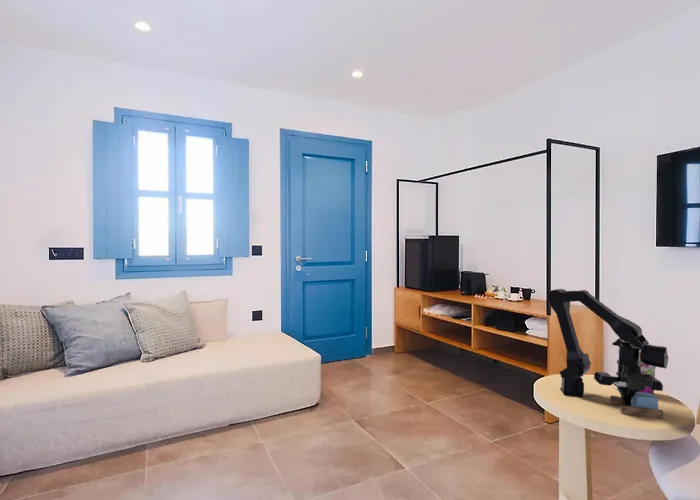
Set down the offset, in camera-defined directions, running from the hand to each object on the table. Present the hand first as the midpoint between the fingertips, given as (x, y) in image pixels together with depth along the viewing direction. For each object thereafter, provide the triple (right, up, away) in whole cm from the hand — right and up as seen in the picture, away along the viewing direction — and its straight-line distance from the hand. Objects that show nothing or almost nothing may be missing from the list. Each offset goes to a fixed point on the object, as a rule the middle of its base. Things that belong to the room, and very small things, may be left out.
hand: (626, 405), depth 136 cm
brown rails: (+3, -1, -1) cm, 3 cm away
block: (+5, -1, -1) cm, 6 cm away
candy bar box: (+14, -1, +15) cm, 21 cm away
